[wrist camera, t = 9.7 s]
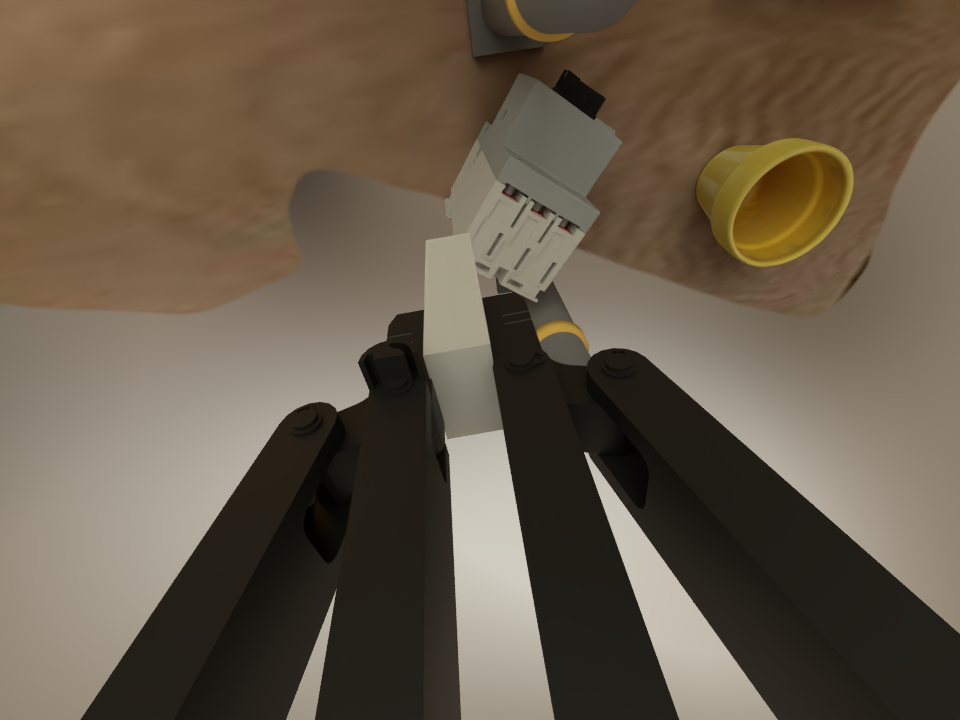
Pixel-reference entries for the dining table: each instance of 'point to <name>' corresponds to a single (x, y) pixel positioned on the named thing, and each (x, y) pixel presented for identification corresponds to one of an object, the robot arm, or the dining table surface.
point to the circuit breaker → (532, 182)
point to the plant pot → (774, 198)
